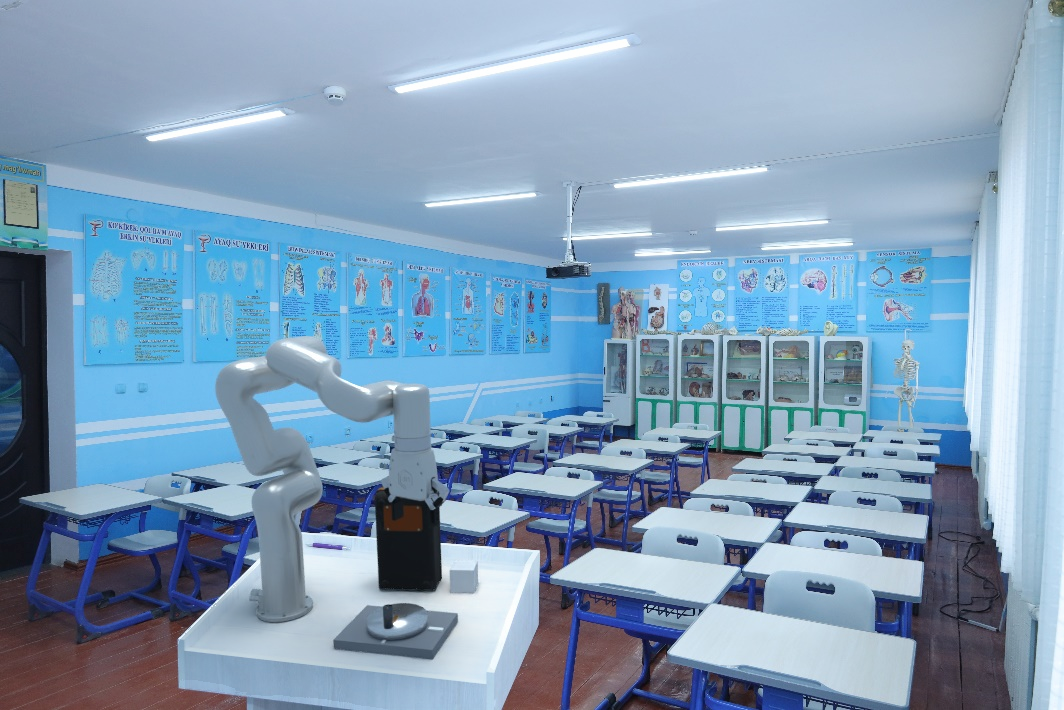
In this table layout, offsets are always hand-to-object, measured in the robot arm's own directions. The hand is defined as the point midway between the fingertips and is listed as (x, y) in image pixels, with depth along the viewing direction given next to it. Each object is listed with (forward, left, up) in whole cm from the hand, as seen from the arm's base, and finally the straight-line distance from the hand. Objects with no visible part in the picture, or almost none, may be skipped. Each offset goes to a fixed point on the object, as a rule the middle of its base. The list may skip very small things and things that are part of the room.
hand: (415, 522), depth 150 cm
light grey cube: (+2, +25, -26) cm, 36 cm away
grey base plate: (-5, 0, -26) cm, 26 cm away
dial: (-5, 0, -23) cm, 24 cm away
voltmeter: (-12, +24, -26) cm, 38 cm away
